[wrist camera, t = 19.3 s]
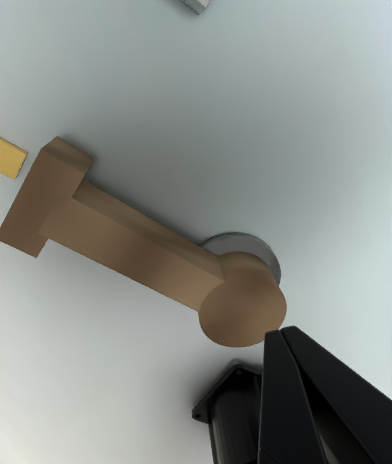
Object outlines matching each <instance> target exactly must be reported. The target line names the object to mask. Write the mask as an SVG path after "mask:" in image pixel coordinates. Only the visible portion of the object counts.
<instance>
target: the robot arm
mask: <svg viewBox="0 0 392 464" xmlns="http://www.w3.org/2000/svg"><path fill="white" fill-rule="evenodd" d="M192 418H193V419H195V420H198V421H201V422H204V423H207V424H208V426H209V433H210V440H211V448H212V455H213V462H214V464H392V400H391V399H390V398H388V397H387V396H386V395H384V394H383V393H382V392H381V391H379V390H378V389H377V388H375V387H374V386H373V385H371V384H370V383H369V382H368V381H366V380H365V379H364V378H362V377H361V376H360V375H359V374H357V373H356V372H355V371H353V370H352V369H351V368H349V367H348V366H347V365H346V364H344V363H343V362H342V361H340V360H339V359H338V358H336V357H335V356H334V355H333V354H331V353H330V352H329V351H327V350H326V349H325V348H323V347H322V346H321V345H320V344H318V343H317V342H316V341H314V340H313V339H312V338H311V337H309V336H308V335H307V334H305V333H304V332H303V331H301V330H300V329H299V328H298V327H296V326H289V327H285V328H282V329H281V330H278V329H276V330H272V331H268V332H266V333H265V338H264V357H263V373H261V372H259V371H257V370H254V369H252V368H250V367H247V366H245V365H243V364H236V365H234V366H233V367H232V368H231V369H230V370H229V371H228V372H227V373H226V374H225V375H224V376H223V378H222V379H221V380H220V381H219V382H218V383H217V384H216V385H215V386H214V387H213V388H212V389H211V390H210V392H209V393H208V394H207V395H206V396H205V397H204V398H203V399H202V400H201V401H200V402H199V403H198V404H197V406H196V407H195V408H194V409H193V410H192Z"/></svg>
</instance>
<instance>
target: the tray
mask: <svg viewBox="0 0 392 464" xmlns="http://www.w3.org/2000/svg"><path fill="white" fill-rule="evenodd" d="M181 1H183V2H184V3H185V4H186V5H187V6H189V7H190V8H191V9H192V10H194V11H195V12H196V13H197V14H200V13H201V12H202V11H203V10H204V9H205V8H206V7H207V5H208V3H209V2H210V0H181Z"/></svg>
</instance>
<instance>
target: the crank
mask: <svg viewBox="0 0 392 464" xmlns="http://www.w3.org/2000/svg"><path fill="white" fill-rule="evenodd" d="M93 161H94V158H92V157H91V156H89V155H87V154H86V153H84V152H82V151H81V150H79V149H77V148H76V147H74V146H72V145H71V144H69V143H67V142H66V141H64V140H63V139H61V138H59V137H58V136H57V137H56V138H54V139H53V140H52V141H50V142H49V143H48V144H47V145H45V146H44V147H43V148H41V150H40V152H39V154H38V156H37V157H36V159H35V161H34V163H33V165H32V167H31V169H30V171H29V173H28V175H27V177H26V179H25V181H24V183H23V185H22V187H21V189H20V190H19V192H18V194H17V196H16V198H15V200H14V202H13V204H12V206H11V208H10V210H9V212H8V214H7V216H6V218H5V220H4V222H3V223H2V225H1V227H0V241H1V242H3V243H5V244H8V245H10V246H12V247H14V248H16V249H18V250H20V251H23V252H25V253H27V254H29V255H31V256H33V257H35V258H37V256H38V255H39V253H40V251H41V250H42V248H43V246H44V245H45V243H46V241H47V240H48V238H49V239H51V240H53V241H56V242H58V243H60V244H62V245H64V246H66V247H68V248H70V249H72V250H74V251H76V252H78V253H80V254H82V255H84V256H86V257H88V258H90V259H92V260H94V261H96V262H98V263H100V264H102V265H104V266H106V267H108V268H110V269H112V270H114V271H116V272H118V273H120V274H122V275H125V276H127V277H129V278H131V279H133V280H135V281H137V282H139V283H141V284H143V285H145V286H147V287H149V288H151V289H153V290H155V291H157V292H159V293H161V294H163V295H165V296H167V297H169V298H171V299H173V300H175V301H177V302H179V303H181V304H183V305H185V306H187V307H189V308H191V309H194V310H196V311H198V315H199V321H200V325H201V328H202V330H203V332H204V333H205V335H206V336H207V337H208V338H209V339H211V340H212V341H214V342H215V343H217V344H220V345H223V346H227V347H247V346H251V345H254V344H257V343H260V342H262V341H264V338H265V333H266V332H268V331H272V330H276V329H278V328H279V327H280V326H281V324H282V322H283V321H284V318H285V315H286V309H287V305H286V300H285V297H284V295H283V293H282V292H281V290H280V288H279V286H278V284H277V282H276V280H275V278H274V276H273V274H272V273H271V271H270V269H269V267H268V265H267V264H266V263H265V262H264V261H263V260H262V259H261V258H259V257H258V256H256V255H254V254H251V253H247V252H240V251H237V252H228V253H224V254H221V255H219V256H215V255H214V254H212V253H210V252H208V251H207V250H205V249H203V248H201V247H200V246H198V245H196V244H194V243H193V242H191V241H189V240H187V239H186V238H184V237H182V236H180V235H179V234H177V233H175V232H173V231H172V230H170V229H168V228H166V227H165V226H163V225H161V224H159V223H158V222H156V221H154V220H152V219H151V218H149V217H147V216H145V215H144V214H142V213H140V212H138V211H137V210H135V209H133V208H131V207H130V206H128V205H126V204H124V203H123V202H121V201H119V200H117V199H116V198H114V197H112V196H110V195H109V194H107V193H105V192H104V191H102V190H100V189H98V188H97V187H95V186H93V185H91V184H90V183H88V182H86V181H84V180H83V178H84V177H85V175H86V173H87V171H88V170H89V168H90V166H91V165H92V163H93Z"/></svg>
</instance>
